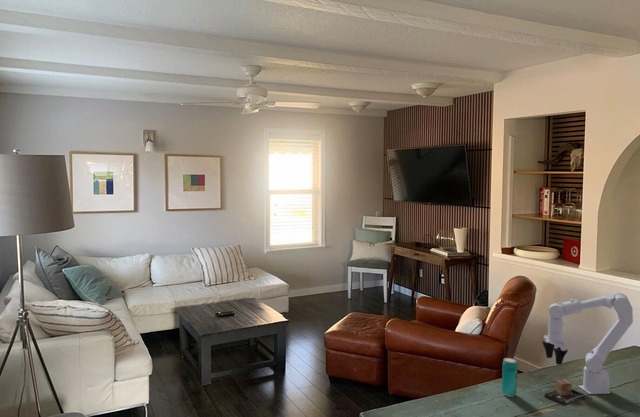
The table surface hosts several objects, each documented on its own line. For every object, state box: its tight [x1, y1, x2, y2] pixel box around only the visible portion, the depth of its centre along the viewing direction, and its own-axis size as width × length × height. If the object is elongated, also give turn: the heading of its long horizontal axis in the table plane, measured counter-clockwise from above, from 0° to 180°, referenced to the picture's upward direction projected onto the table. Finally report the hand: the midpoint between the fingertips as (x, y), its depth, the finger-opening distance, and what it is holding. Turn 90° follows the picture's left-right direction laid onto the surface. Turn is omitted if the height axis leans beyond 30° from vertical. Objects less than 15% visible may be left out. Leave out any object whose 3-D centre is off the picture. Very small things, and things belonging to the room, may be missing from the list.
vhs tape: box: [544, 388, 584, 405], centre depth 208 cm, size 14×8×2 cm, turn 119°
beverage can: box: [501, 357, 518, 398], centre depth 210 cm, size 6×6×15 cm
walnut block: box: [554, 378, 573, 396], centre depth 209 cm, size 4×4×5 cm
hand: (554, 360), depth 221 cm, fingers open, 7 cm apart
